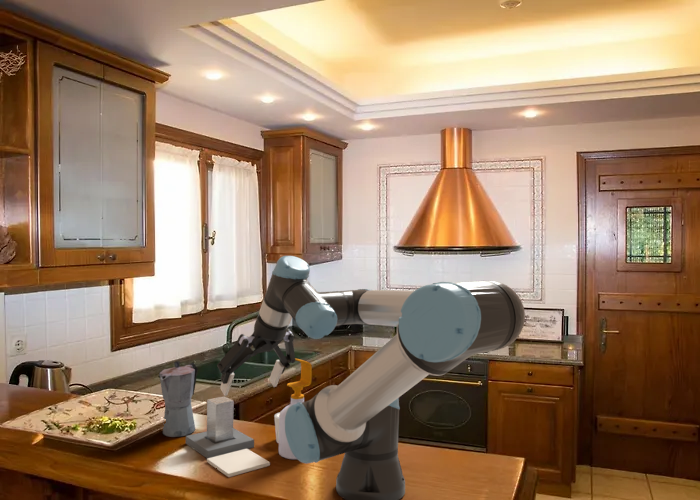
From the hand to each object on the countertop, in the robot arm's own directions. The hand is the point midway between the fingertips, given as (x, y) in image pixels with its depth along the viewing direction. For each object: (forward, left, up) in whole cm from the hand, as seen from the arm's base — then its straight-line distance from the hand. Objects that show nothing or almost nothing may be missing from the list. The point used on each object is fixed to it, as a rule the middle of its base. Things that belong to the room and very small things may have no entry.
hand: (248, 387), depth 137 cm
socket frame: (+14, +1, -18) cm, 23 cm away
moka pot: (+30, +5, -18) cm, 35 cm away
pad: (0, +3, -18) cm, 18 cm away
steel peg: (+14, +1, -18) cm, 23 cm away
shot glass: (+6, -15, -18) cm, 25 cm away
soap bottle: (-3, -12, -18) cm, 22 cm away
